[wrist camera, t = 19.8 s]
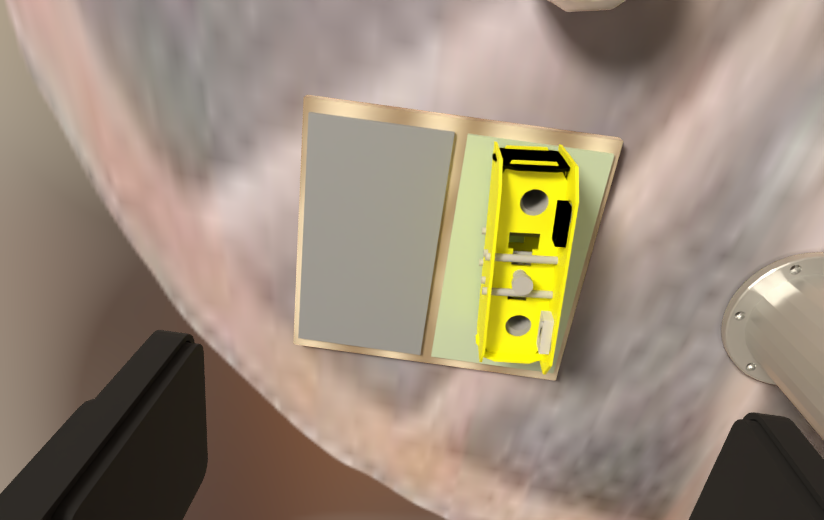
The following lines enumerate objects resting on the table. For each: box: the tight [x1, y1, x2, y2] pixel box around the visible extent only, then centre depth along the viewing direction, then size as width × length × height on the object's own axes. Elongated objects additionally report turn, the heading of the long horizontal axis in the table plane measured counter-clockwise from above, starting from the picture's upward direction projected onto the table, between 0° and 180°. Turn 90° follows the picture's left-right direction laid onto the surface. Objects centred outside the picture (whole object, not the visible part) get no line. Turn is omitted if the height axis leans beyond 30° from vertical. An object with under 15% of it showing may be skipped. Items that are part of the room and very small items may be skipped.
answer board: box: [294, 95, 623, 381], centre depth 47 cm, size 24×22×2 cm
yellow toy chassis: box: [475, 141, 579, 375], centre depth 42 cm, size 16×6×8 cm, turn 178°
